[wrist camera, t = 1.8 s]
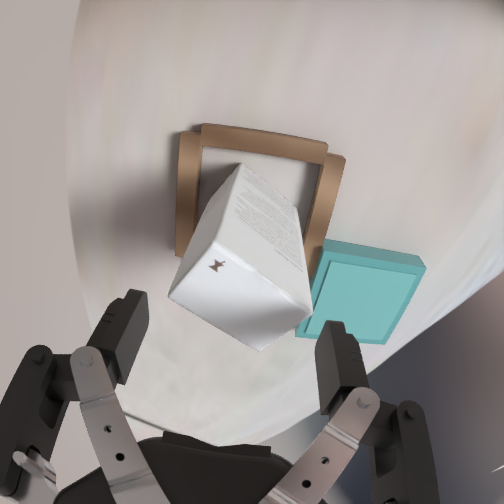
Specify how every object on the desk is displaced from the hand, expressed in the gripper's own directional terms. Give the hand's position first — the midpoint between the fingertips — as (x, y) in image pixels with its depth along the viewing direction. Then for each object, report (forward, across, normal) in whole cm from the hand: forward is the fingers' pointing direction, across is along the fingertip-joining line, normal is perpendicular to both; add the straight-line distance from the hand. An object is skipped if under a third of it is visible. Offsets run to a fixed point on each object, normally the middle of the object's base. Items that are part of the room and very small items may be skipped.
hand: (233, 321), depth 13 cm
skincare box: (+13, 0, 0) cm, 13 cm away
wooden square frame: (+13, 0, 0) cm, 13 cm away
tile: (+13, -11, +7) cm, 18 cm away
